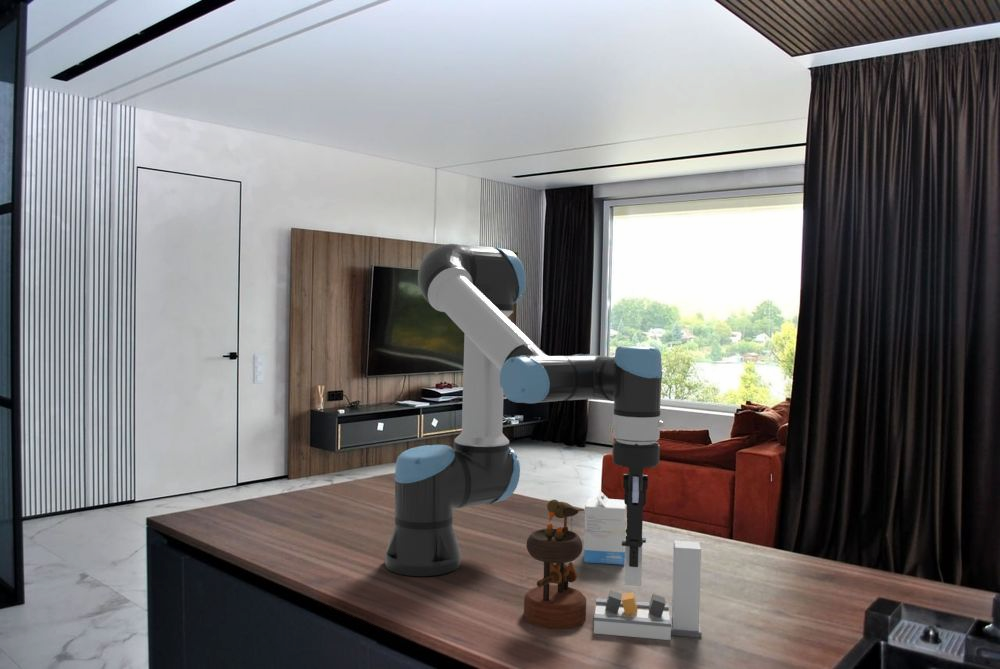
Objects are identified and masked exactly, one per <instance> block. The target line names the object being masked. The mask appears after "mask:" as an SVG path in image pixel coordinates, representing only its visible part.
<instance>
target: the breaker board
mask: <svg viewBox="0 0 1000 669" xmlns="http://www.w3.org/2000/svg"><path fill="white" fill-rule="evenodd" d="M606 602H607V598H601V597H597V598H596V600H595V612H594V616H593V617H594V618H593V634H596V635H597V634H598V635H608V636H619V637H631V638H632V637H633V638H640V639H643V638H644V639H652V640H653V639H655V640H662V641H663V640H665V641H671V638H672V635H671V620H670V618H671V617H670V610H669V609H670V606H669V603H665V607H664V610H663V613H662V616H661V618H660V617H657V616H654V615H652V614H649V604H650V602H649V601H637V600H636V603H637V612H638V613H633V614H627V615H625V611H624V607H623V603H622V599H621V603H620V607H619V610H618V613H617V614H615V613H613V612H610V611H607V610H605V608H606Z"/></svg>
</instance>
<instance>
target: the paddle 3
mask: <svg viewBox="0 0 1000 669" xmlns="http://www.w3.org/2000/svg"><path fill="white" fill-rule="evenodd" d="M650 598H651V599H650V604H649V614H652V615H654V616H657V617H660V618H661V616H662V613H663V610H664V607H665V604H666V598H665V597H664V596H661V595H658V594H655V593H652V595H651V597H650Z"/></svg>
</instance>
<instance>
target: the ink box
mask: <svg viewBox="0 0 1000 669" xmlns="http://www.w3.org/2000/svg"><path fill="white" fill-rule="evenodd" d="M626 529H627V505H626V504H625V503H624V499H617V498H616V499H614V498H608V496H606V495H605V494H604V493H603V492H602V491H601V490H600V491H599V492H598V494H597V497H596V498H595V497H588V499H587V501H586V503H585V505H584V534H583V535H584V541H583V542H584V543H583V545H584V546H583V548H584V549H583V561H584V563H588V564H589V563H590V564H591V563H592V564H608V565H623V566H625V546H622V541H626V536H627V533H626Z"/></svg>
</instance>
